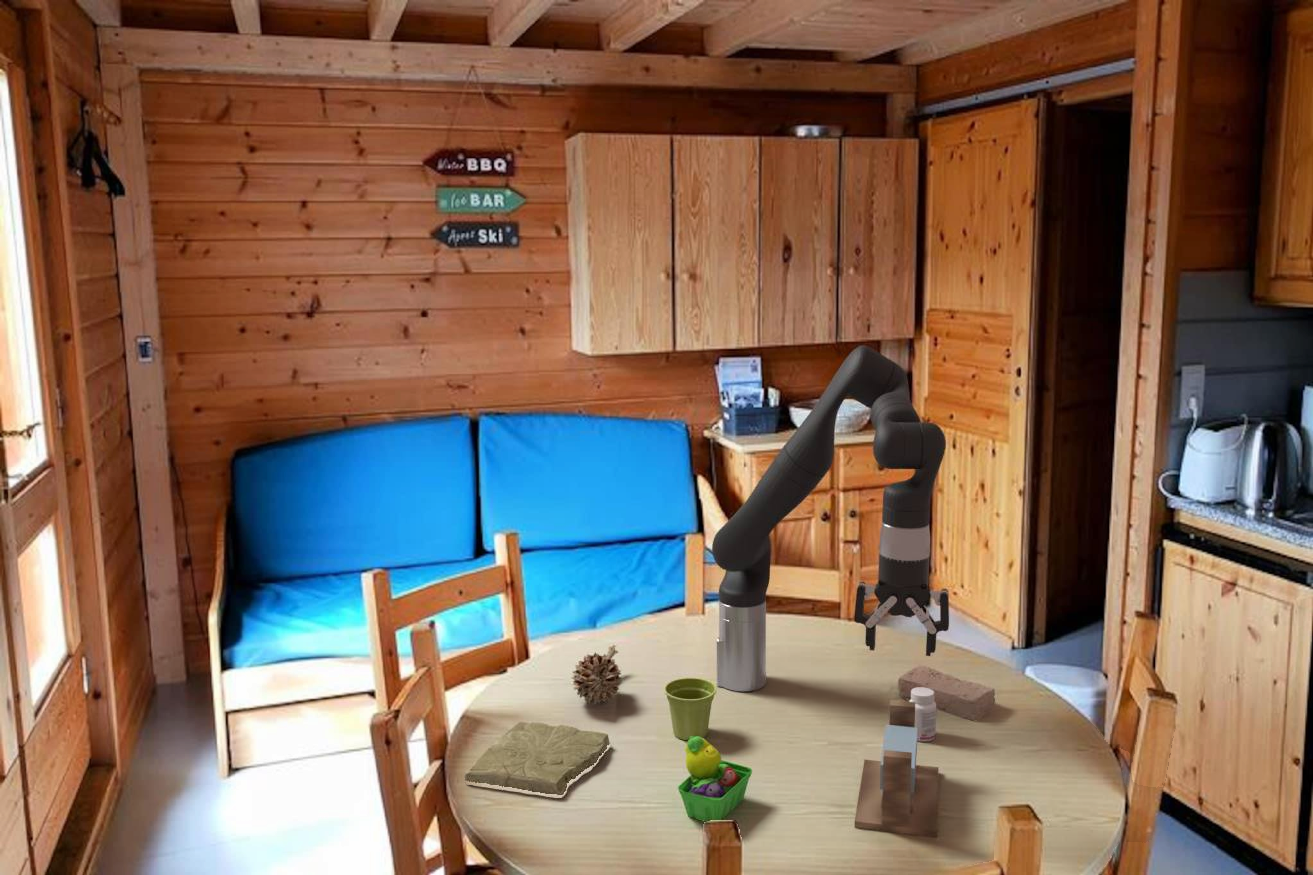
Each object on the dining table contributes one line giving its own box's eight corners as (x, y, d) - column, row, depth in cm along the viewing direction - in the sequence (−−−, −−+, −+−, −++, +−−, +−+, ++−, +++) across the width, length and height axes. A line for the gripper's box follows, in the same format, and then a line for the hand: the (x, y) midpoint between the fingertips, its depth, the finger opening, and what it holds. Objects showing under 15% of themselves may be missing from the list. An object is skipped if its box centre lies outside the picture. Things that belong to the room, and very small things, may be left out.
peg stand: (854, 827, 164) (855, 753, 162) (864, 764, 183) (865, 697, 181) (936, 837, 161) (939, 761, 159) (938, 772, 180) (940, 704, 178)
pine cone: (618, 718, 202) (617, 668, 200) (567, 717, 203) (565, 667, 201) (631, 671, 224) (630, 625, 222) (585, 670, 225) (583, 624, 223)
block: (879, 789, 165) (880, 764, 164) (885, 747, 179) (885, 724, 178) (913, 793, 164) (914, 768, 163) (916, 750, 177) (917, 727, 176)
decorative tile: (463, 787, 179) (462, 767, 178) (518, 734, 198) (518, 716, 197) (568, 805, 173) (567, 784, 172) (614, 749, 191) (614, 730, 191)
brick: (997, 709, 204) (997, 685, 203) (975, 723, 198) (976, 699, 197) (918, 685, 216) (919, 663, 215) (895, 699, 210) (896, 675, 209)
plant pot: (727, 732, 196) (727, 686, 194) (693, 750, 189) (692, 703, 188) (688, 717, 202) (688, 673, 201) (653, 734, 196) (653, 689, 194)
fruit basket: (719, 832, 164) (719, 762, 162) (669, 816, 168) (668, 748, 166) (754, 798, 173) (754, 732, 171) (705, 784, 178) (705, 719, 176)
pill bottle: (937, 732, 194) (939, 688, 193) (932, 744, 190) (934, 698, 189) (910, 728, 196) (912, 684, 195) (905, 739, 192) (906, 694, 191)
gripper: (953, 548, 168) (948, 647, 172) (859, 540, 172) (856, 638, 175) (951, 562, 161) (946, 665, 164) (854, 554, 165) (851, 655, 168)
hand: (900, 651), depth 170 cm, fingers open, 8 cm apart
